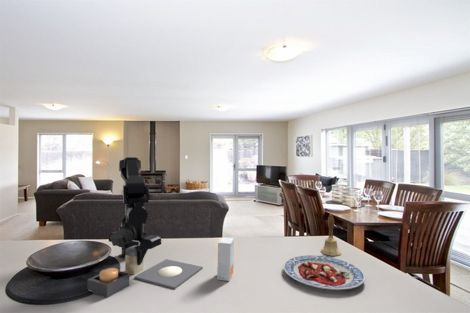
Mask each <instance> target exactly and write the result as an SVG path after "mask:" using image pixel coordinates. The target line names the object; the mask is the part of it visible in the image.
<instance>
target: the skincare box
mask: <svg viewBox="0 0 470 313" xmlns="http://www.w3.org/2000/svg"><path fill="white" fill-rule="evenodd" d="M234 245H235V238H234V237H233V238H232V237H230V238H229V237H222V238H221V239H220V240H219V241H218V243H217V267H216V268H217V271H216V272H217V274H216V279H217V280H218V281H227V282H230V280H231V278H232V277H233V275H234V262H235V261H234V256H235V255H234V254H235V253H234V251H235V250H234V249H235V246H234Z"/></svg>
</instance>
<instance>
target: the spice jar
mask: <svg viewBox="0 0 470 313" xmlns="http://www.w3.org/2000/svg"><path fill="white" fill-rule="evenodd" d="M134 247H137V246H135V245H134V246H132V247H129V248H127V249H126V258H124V259H125V261H124V262H125V263H124V264H125V271H124V273H128V274H129V275H133V276H136V275H138V274H140V273H141V272H143V271H144V260H143V261H142V263H141V265H138V264H137V251H136V250H135V249H134Z"/></svg>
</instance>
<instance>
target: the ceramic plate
mask: <svg viewBox="0 0 470 313" xmlns="http://www.w3.org/2000/svg"><path fill="white" fill-rule="evenodd" d="M283 263H284V264H283V270H284V272H285V273H286V274H287V276H289V277H290V278H291V279H293V280H295V281H297V282H299V283H300V284H304V285H306V286H310V287H313V288H319V289H324V290H325V289H326V290H334V291H341V290H351V289H355V288H357V287H360V286H362V285H363V284H364V282H365V278H366V277H365V274H364V272H363V271H362V270H361V269H360V268H359V267H357V266H355V265H354V264H352V263H349V262H347V261H345V260H342V259H338V258H334V257H331V256H324V255H315V254H313V255H310V254H308V255H307V254H306V255H299V256H294V257H291V258H288V259H287V260H286V261H285V262H283Z"/></svg>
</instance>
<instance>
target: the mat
mask: <svg viewBox="0 0 470 313" xmlns="http://www.w3.org/2000/svg"><path fill="white" fill-rule="evenodd" d="M203 268H204V267H203V266H202V265H201V266H200V265H195V264H191V263H186V262H181V261H177V260H172V259H167V258H166V259H164V260H162V261H160V262H158V263H157V264H154V265H153V266H151V267H149V268H147V269H145V270H143V271H141V272H139V273H137V274H135V275H133V278H134V279H135V280H137V281H143V282H147V283H149V284H154V285H156V286H157V285H158V286H162V287H166V288H170V289H173V290H176V289H177V288H179V287H180V286H181V285H183V284H184V283H185V282H186V281H188V280H190V278H192V277H193V276H195V275H196V274H198V273H199V272H200V271H201V270H202V269H203Z"/></svg>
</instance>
